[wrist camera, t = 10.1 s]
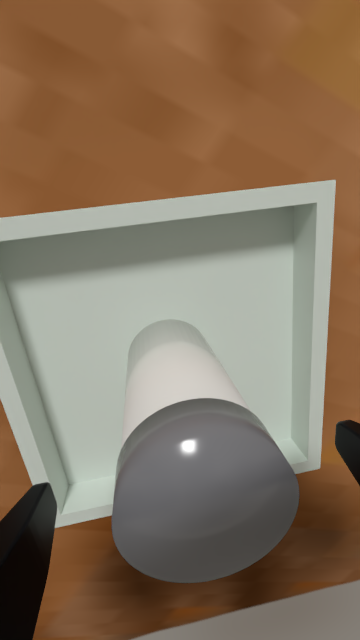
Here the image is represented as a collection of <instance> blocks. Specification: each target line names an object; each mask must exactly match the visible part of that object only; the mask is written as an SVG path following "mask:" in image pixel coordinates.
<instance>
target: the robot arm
mask: <svg viewBox="0 0 360 640" xmlns="http://www.w3.org/2000/svg"><path fill="white" fill-rule="evenodd" d="M335 445H336V448H337V450H338V452H339V454H340V455H341V457H342V458H343V460H344V462H345V463H346V465H347V466H348V468H349V470H350V471H351V473H352V474H353V476H354V478H355V479H356V481H357V482H358V484H359V486H360V424H359V423H357V422H354V421H352V420H345V421H340V422H338V423H337V424H336V435H335ZM56 515H57V502H56V499H55V496H54V493H53V490H52V487H51V485H50V483H49V482H44V483H39V484H35V485H33V486H32V487H31V488H30V489H29V490H28V491H27V492H26V494H25V495H24V496H23V497H22V498H21V499H20V500H19V501H18V502H17V504H16V505H15V506H14V507H13V508H12V509H11V510H10V511H9V512H8V513H7V515H6V516H5V517H4V518H3V519H2V520H1V521H0V640H32V639H33V635H34V631H35V626H36V622H37V618H38V614H39V610H40V605H41V601H42V597H43V593H44V589H45V584H46V580H47V575H48V570H49V564H50V557H51V550H52V543H53V536H54V529H55V522H56Z"/></svg>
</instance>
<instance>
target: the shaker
mask: <svg viewBox="0 0 360 640" xmlns="http://www.w3.org/2000/svg"><path fill="white" fill-rule="evenodd" d="M298 504H299V485H298V481H297V477H296V475H295V473H294V471H293V469H292V467H291V466H290V464H289V463H288V461H287V460H286V458H285V456H284V455H283V453H282V452H281V450H280V449H279V447H278V446H277V444H276V443H275V441H274V440H273V438H272V437H271V435H270V434H269V432H268V430H267V429H266V427H265V426H264V424H263V423H262V422H261V420H260V419H259V418H258V417H257V416H256V415H255V414H253V413H252V412H251V410H250V409H249V407H248V405H247V404H246V402H245V401H244V399H243V398H242V396H241V394H240V393H239V391H238V390H237V388H236V387H235V385H234V383H233V382H232V380H231V379H230V377H229V375H228V374H227V372H226V371H225V369H224V368H223V366H222V364H221V363H220V361H219V360H218V358H217V357H216V355H215V353H214V352H213V350H212V349H211V347H210V345H209V344H208V342H207V341H206V339H205V338H204V336H203V335H202V333H201V332H200V331H199V330H198V329H197V328H196V327H194V326H193V325H191V324H189V323H187V322H184V321H181V320H175V319H167V320H161V321H157V322H154V323H152V324H150V325H148V326H146V327H145V328H143V329H142V330H141V331H140V332H139V333H138V334H137V335H136V336H135V338H134V339H133V341H132V343H131V345H130V348H129V352H128V361H127V375H126V389H125V403H124V418H123V432H122V446H121V451H120V454H119V457H118V461H117V466H116V477H115V488H114V500H113V511H112V533H113V539H114V541H115V544H116V547H117V549H118V550H119V552H120V554H121V555H122V556H123V558H124V559H125V560H126V561H127V562H128V563H129V564H130V565H131V566H133V567H134V568H135V569H137V570H138V571H140V572H142V573H143V574H146V575H148V576H150V577H153V578H156V579H159V580H163V581H168V582H176V583H197V582H206V581H210V580H215V579H219V578H222V577H226V576H229V575H231V574H234V573H236V572H239V571H241V570H243V569H245V568H247V567H249V566H250V565H252V564H254V563H255V562H257V561H258V560H260V559H261V558H262V557H264V556H265V555H266V554H268V553H269V552H270V551H271V550H272V549H273V548H274V547H275V546H276V545H277V544H278V543H279V542H280V541H281V540H282V538H283V537H284V536H285V534H286V533H287V531H288V530H289V528H290V526H291V524H292V523H293V520H294V518H295V515H296V512H297V508H298Z"/></svg>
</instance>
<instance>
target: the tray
mask: <svg viewBox="0 0 360 640" xmlns="http://www.w3.org/2000/svg"><path fill="white" fill-rule="evenodd" d="M335 185H336V180H328V181H320V182H311V183H302V184H293V185H285V186H276V187H267V188H258V189H250V190H241V191H232V192H223V193H215V194H206V195H197V196H189V197H180V198H171V199H162V200H154V201H145V202H136V203H127V204H119V205H110V206H101V207H92V208H84V209H75V210H66V211H57V212H49V213H40V214H31V215H22V216H14V217H5V218H0V399H1V401H2V404H3V407H4V409H5V412H6V415H7V417H8V420H9V423H10V425H11V428H12V431H13V433H14V436H15V439H16V441H17V444H18V447H19V449H20V452H21V455H22V458H23V460H24V463H25V466H26V468H27V471H28V474H29V476H30V479H31V482H32V484H33V485H35V484H39V483H44V482H49V483H50V485H51V487H52V490H53V493H54V496H55V499H56V502H57V515H56V522H55V528H57V527H61V526H66V525H70V524H75V523H79V522H84V521H88V520H93V519H97V518H102V517H106V516H111V515H112V511H113V500H114V488H115V477H116V466H117V461H118V457H119V454H120V451H121V446H122V432H123V418H124V403H125V389H126V375H127V361H128V352H129V348H130V345H131V343H132V341H133V339H134V338H135V336H136V335H137V334H138V333H139V332H140V331H141V330H142V329H143V328H145V327H146V326H148V325H150V324H152V323H154V322H157V321H161V320H167V319H175V320H181V321H184V322H187V323H189V324H191V325H193V326H194V327H196V328H197V329H198V330H199V331H200V332H201V333H202V335H203V336H204V338H205V339H206V341H207V342H208V344H209V345H210V347H211V349H212V350H213V352H214V353H215V355H216V357H217V358H218V360H219V361H220V363H221V364H222V366H223V368H224V369H225V371H226V372H227V374H228V375H229V377H230V379H231V380H232V382H233V383H234V385H235V387H236V388H237V390H238V391H239V393H240V394H241V396H242V398H243V399H244V401H245V402H246V404H247V405H248V407H249V409H250V410H251V412H252V413H253V414H255V415H256V416H257V417H258V418H259V419H260V420H261V422H262V423H263V424H264V426H265V427H266V429H267V430H268V432H269V434H270V435H271V437H272V438H273V440H274V441H275V443H276V444H277V446H278V447H279V449H280V450H281V452H282V453H283V455H284V456H285V458H286V460H287V461H288V463H289V464H290V466H291V467H292V469H293V471H294V473H295V474H298V473H302V472H307V471H311V470H316V469H320V461H321V443H322V424H323V406H324V388H325V369H326V351H327V332H328V314H329V296H330V277H331V259H332V241H333V222H334V204H335Z"/></svg>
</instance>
